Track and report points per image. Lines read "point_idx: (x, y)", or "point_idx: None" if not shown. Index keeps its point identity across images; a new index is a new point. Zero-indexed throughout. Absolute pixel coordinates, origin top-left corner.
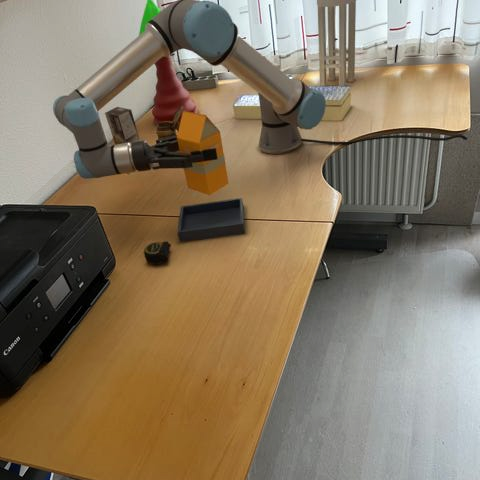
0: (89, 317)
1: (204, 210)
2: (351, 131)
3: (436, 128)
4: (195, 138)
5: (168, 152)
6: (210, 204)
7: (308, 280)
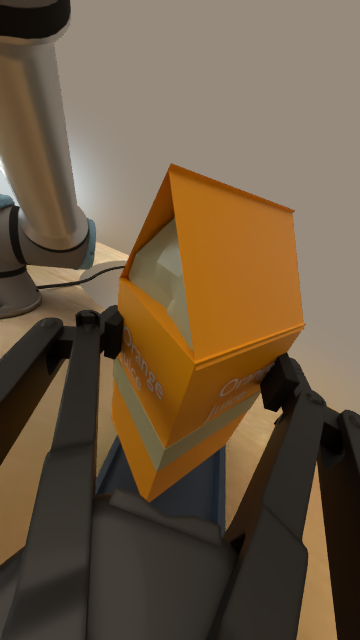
0: None
1: (100, 492)
2: (66, 271)
3: (122, 260)
4: (288, 315)
5: (277, 514)
6: (110, 464)
7: (327, 405)
